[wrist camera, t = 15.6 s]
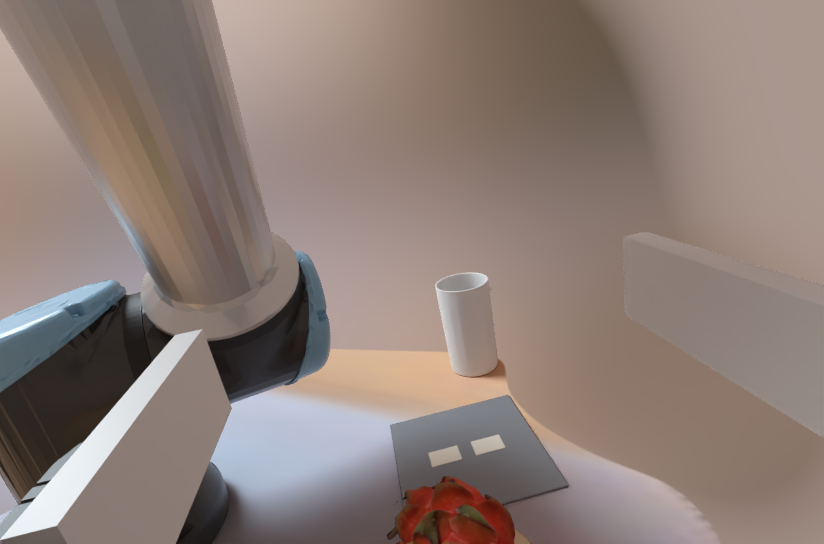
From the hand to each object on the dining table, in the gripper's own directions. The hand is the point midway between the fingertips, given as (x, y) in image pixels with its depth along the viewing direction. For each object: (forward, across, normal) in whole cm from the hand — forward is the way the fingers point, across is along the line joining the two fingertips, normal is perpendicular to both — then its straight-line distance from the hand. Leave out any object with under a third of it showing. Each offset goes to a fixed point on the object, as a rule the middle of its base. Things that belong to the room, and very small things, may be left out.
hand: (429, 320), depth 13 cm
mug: (+39, +9, -26) cm, 48 cm away
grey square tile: (+22, +4, -25) cm, 34 cm away
